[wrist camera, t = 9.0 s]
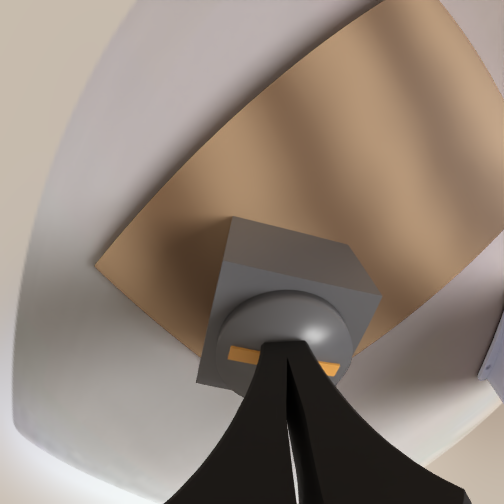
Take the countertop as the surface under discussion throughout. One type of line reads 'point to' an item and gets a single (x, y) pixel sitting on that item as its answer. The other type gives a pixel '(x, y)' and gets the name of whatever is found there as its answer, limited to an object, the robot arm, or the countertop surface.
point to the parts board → (337, 172)
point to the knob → (284, 302)
